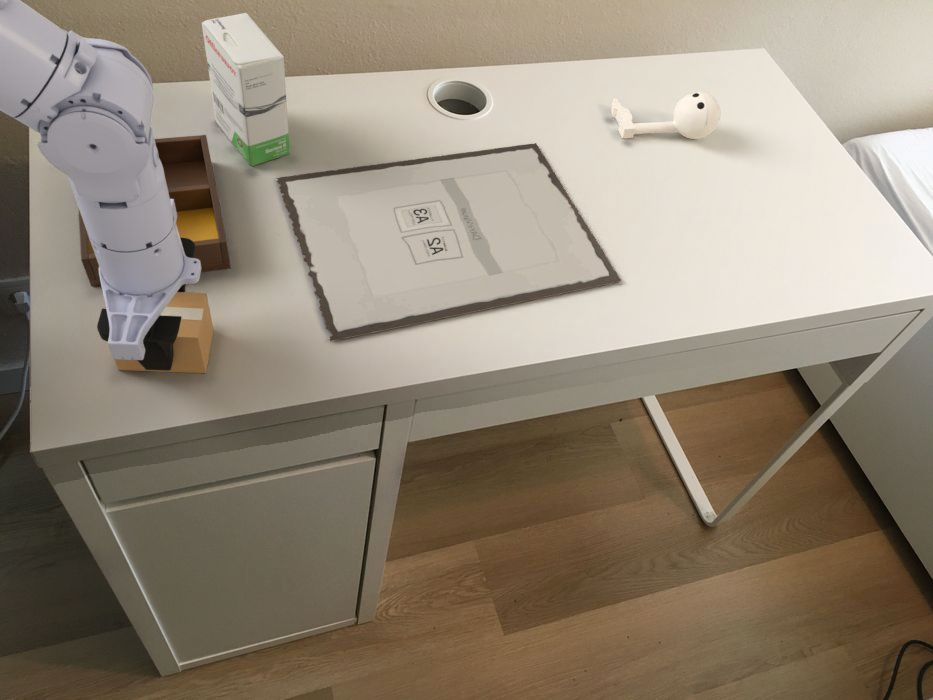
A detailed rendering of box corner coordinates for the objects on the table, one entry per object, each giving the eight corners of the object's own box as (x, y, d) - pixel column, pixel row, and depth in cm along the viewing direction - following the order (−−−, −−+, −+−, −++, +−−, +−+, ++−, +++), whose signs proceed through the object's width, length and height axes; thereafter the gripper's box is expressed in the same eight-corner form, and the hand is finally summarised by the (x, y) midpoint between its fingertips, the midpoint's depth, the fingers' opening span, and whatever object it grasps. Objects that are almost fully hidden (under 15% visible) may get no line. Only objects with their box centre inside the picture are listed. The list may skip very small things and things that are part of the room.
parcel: (117, 370, 63) (103, 333, 59) (129, 326, 66) (116, 288, 62) (206, 373, 64) (198, 337, 60) (214, 330, 67) (206, 292, 63)
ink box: (292, 154, 81) (287, 56, 72) (249, 168, 79) (238, 68, 70) (255, 108, 85) (246, 8, 76) (213, 120, 83) (198, 19, 73)
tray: (91, 286, 68) (80, 259, 65) (84, 173, 75) (74, 145, 73) (230, 268, 71) (226, 241, 68) (210, 162, 79) (206, 134, 76)
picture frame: (330, 342, 68) (621, 282, 77) (330, 340, 67) (622, 280, 77) (275, 178, 79) (535, 144, 88) (275, 176, 78) (536, 141, 88)
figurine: (734, 109, 88) (638, 115, 86) (718, 146, 93) (626, 154, 91) (708, 67, 93) (615, 73, 91) (694, 105, 97) (605, 111, 95)
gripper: (173, 306, 49) (201, 415, 60) (205, 157, 58) (225, 276, 69) (56, 300, 48) (106, 412, 59) (107, 150, 57) (143, 272, 67)
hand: (164, 339), depth 64 cm, fingers open, 5 cm apart
